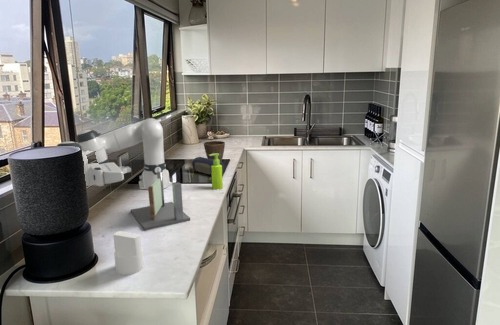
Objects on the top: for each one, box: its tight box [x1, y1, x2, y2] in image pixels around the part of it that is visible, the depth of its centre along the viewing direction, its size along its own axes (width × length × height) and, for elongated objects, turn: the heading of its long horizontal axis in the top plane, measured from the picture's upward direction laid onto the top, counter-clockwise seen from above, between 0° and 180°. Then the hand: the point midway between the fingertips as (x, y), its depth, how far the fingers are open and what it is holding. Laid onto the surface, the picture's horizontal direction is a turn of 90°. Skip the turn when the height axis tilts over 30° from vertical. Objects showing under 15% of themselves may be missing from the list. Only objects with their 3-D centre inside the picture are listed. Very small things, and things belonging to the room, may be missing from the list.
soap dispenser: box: [209, 153, 224, 190], centre depth 203 cm, size 6×7×20 cm
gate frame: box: [130, 171, 191, 231], centre depth 163 cm, size 25×20×18 cm
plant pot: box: [203, 140, 226, 162], centre depth 257 cm, size 15×15×16 cm
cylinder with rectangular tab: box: [112, 230, 145, 276], centre depth 119 cm, size 9×9×12 cm
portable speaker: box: [192, 156, 227, 176], centre depth 235 cm, size 25×10×10 cm, turn 50°
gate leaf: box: [147, 179, 162, 219], centre depth 163 cm, size 16×2×14 cm, turn 0°
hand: (130, 169), depth 153 cm, fingers closed
